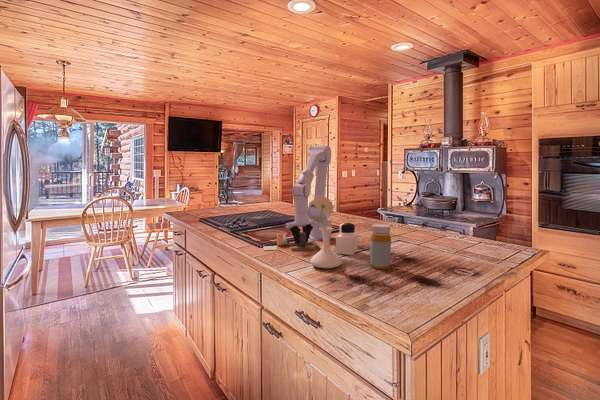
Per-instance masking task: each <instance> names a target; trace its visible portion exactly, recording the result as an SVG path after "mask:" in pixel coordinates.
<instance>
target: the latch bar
mask: <svg viewBox="0 0 600 400" xmlns="http://www.w3.org/2000/svg"><path fill="white" fill-rule="evenodd" d="M285 245H288V237H287V235H286V233H282V232H278V233H276V246H282V247H283V246H285Z"/></svg>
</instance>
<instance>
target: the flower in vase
mask: <svg viewBox="0 0 600 400" xmlns="http://www.w3.org/2000/svg"><path fill="white" fill-rule="evenodd" d="M313 200H315V201H314V205H315V206H316V208H317V209H318V210H319V211H320V212H321V214H322V212H323V213H324V214H328V213H329V214H330V215H331V214H333V213H334V211H335V210H334V209H335V205H334V204H333V201H331V200H330V199H329V198H327V197H326V196H325V197H324V198H323V197H322V196H318V197H317V198H316V199H314V198H313ZM321 214H320V219H319V218H318V217H315V218H314V220H313V221H315V222H318V223H320V222H322V220H321ZM329 220H330V221H327V222H326V223H325V224H327V223H329V222H331V223H332V220H333V219H329ZM322 224H323V222H322ZM323 226H324V224H323ZM319 229H320V230H321V232H322V236H323V240H322V248H321V249H320V250H319V251H317V253H315V254H314V255H313V256H312V257H311V258H310V259H309V263H310V264H311V265H312V266H314V267H316V268H320V269H333V268H337V267H340V266H341V265H342V263H343V260H342V258H341V257H340V256H339V254H338V255H337V253H336V252H334V251H333V250H332V249H331V246H330V240H331V239H330V234H331V235H332V232H333V230H334V228H333V227H332V226H331V227H325V226H324V227H320V228H319Z"/></svg>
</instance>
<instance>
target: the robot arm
mask: <svg viewBox="0 0 600 400" xmlns="http://www.w3.org/2000/svg"><path fill="white" fill-rule="evenodd" d="M307 157H308V159H307V163H306V167H305V169H303V170H302V171H301V172H300V175H299V178H298V180H297V183H295V184H294V185H293V186H292V190H291V194H292V197H293V199H292V200H293V201H294V221H290V222H285V228H286V229H289V230H290V232H291V233H292V236H293V239H294V242H295V243H296V244H299V234H300V232H301V230H302V232H305V233H306V242H308V241H309V239H310V240H311V241H321V240H322V241H323V236H322V232H321V230H320V229H319V228H320V227H324V226H325V227H332V221H331V222H329V223H327V224H325V223H326V222H327V221H330V220H331V219H329V218H330V215H331V214H329V213H328V214H324V213H323V212H322V214H321V212H320V211H319V210H318V209H317V208H316V206H315V205H314V201H315V200H314V199H316V198H317V197H318V196H322V197H323V198H324V197H326V187H327V186H326V185H327V175H328V174H327V173H328V165H330V164H331V161H332V148H331V147H330V145H309V147H308V149H307ZM315 169H316V176H315V174H314V171H315ZM314 177H315V183H314V185H315V186H314V198H313V200H311V201H310V202H309V197H310V195H311V190H312V182H313V180H314ZM320 214H321V220H322V222H323V224H324V226H323V224H322V222H320V223H318V222H315V221H313V220H314V218H315V217H318V218H319V219H320ZM299 227H302V229H301V228H299ZM329 240H332V233H331V234H330V239H329Z"/></svg>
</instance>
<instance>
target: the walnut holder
mask: <svg viewBox="0 0 600 400" xmlns="http://www.w3.org/2000/svg"><path fill="white" fill-rule="evenodd" d="M287 245H288V246H290V251H292V252H294V251H297V252H298V251H314V250H316V251H317V250H319V251H320V250H321V249H320V248H321V247H320V245H319V244H318V243H317V241H316V240H311V241H309V240H308V242H306V246H304V247H297V244H296V243H295V241H287Z"/></svg>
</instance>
